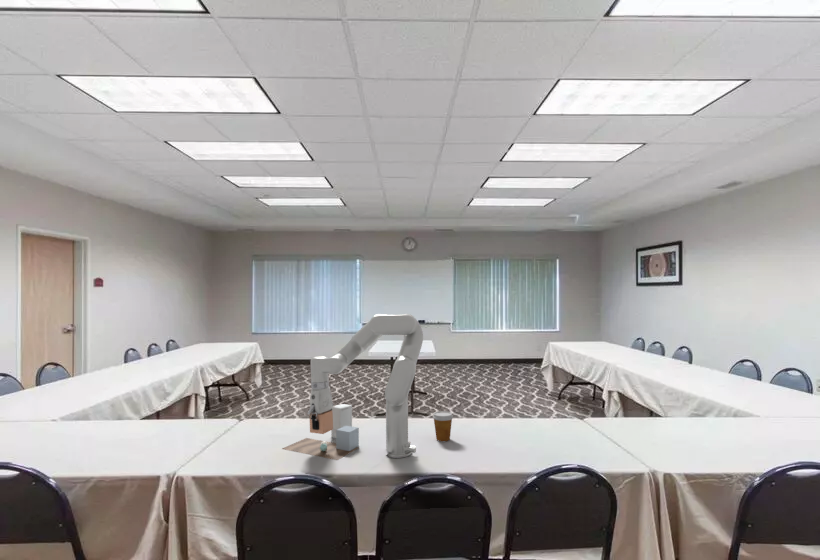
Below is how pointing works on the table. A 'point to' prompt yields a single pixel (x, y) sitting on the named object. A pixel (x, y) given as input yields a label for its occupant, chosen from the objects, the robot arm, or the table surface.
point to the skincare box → (341, 417)
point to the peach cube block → (323, 422)
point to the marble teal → (323, 447)
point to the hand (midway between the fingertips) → (321, 426)
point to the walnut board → (318, 449)
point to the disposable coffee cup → (442, 425)
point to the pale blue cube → (347, 438)
